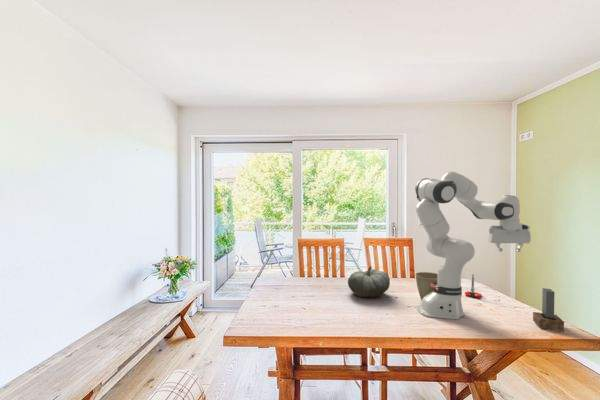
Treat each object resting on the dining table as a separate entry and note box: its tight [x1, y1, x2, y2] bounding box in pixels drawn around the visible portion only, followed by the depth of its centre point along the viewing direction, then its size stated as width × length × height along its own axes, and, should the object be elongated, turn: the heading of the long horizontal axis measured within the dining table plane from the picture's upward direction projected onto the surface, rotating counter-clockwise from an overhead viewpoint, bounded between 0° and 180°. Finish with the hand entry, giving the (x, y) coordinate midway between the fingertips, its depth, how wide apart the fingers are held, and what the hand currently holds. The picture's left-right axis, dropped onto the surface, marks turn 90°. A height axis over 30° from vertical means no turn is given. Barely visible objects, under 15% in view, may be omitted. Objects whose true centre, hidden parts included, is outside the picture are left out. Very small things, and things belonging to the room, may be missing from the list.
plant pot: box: [415, 271, 437, 302], centre depth 172 cm, size 15×15×16 cm
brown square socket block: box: [532, 311, 565, 332], centre depth 142 cm, size 9×9×4 cm
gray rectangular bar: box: [541, 287, 555, 320], centre depth 142 cm, size 3×5×16 cm, turn 158°
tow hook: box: [464, 273, 483, 299], centre depth 186 cm, size 9×14×10 cm
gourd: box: [347, 266, 391, 298], centre depth 186 cm, size 25×25×17 cm
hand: (508, 251), depth 163 cm, fingers open, 8 cm apart
